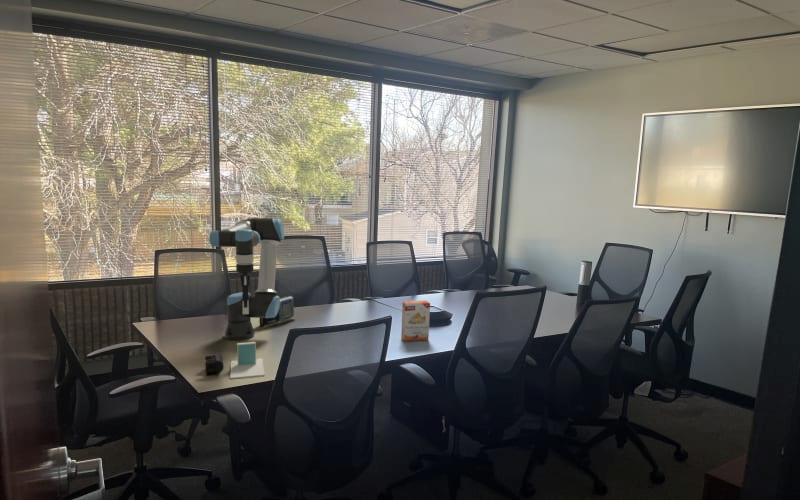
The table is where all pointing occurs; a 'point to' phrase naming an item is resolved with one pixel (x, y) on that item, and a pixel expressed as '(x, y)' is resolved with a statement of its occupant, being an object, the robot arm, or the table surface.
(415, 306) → the cracker box
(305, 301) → the table surface
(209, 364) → the end cap
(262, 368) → the mat
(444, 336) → the table surface
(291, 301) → the radio
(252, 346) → the tile
